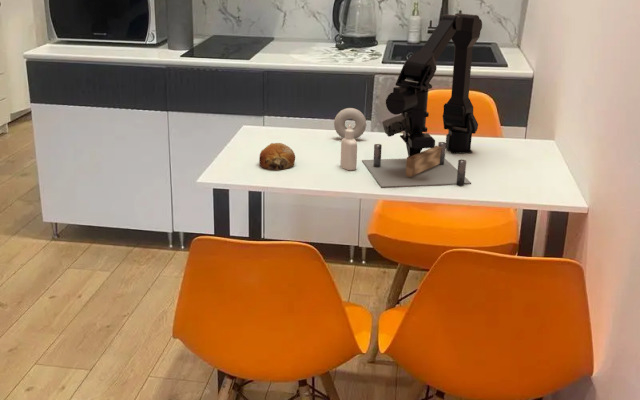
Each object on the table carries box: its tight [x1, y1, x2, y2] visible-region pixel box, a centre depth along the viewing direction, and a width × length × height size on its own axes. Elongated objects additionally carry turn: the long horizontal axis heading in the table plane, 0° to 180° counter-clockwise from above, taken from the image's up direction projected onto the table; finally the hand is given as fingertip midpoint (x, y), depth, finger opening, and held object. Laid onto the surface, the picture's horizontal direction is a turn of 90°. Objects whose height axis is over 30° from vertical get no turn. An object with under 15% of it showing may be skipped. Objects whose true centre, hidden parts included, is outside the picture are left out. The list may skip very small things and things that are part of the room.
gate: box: [406, 145, 442, 177], centre depth 192 cm, size 15×2×5 cm, turn 141°
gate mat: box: [361, 157, 472, 189], centre depth 194 cm, size 24×22×1 cm
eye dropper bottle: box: [340, 124, 358, 171], centre depth 195 cm, size 4×6×12 cm
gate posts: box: [373, 141, 467, 187], centre depth 190 cm, size 20×18×6 cm
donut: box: [333, 107, 367, 140], centre depth 221 cm, size 10×4×10 cm, turn 84°
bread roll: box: [258, 142, 296, 171], centre depth 197 cm, size 10×10×8 cm
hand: (411, 163), depth 195 cm, fingers closed
